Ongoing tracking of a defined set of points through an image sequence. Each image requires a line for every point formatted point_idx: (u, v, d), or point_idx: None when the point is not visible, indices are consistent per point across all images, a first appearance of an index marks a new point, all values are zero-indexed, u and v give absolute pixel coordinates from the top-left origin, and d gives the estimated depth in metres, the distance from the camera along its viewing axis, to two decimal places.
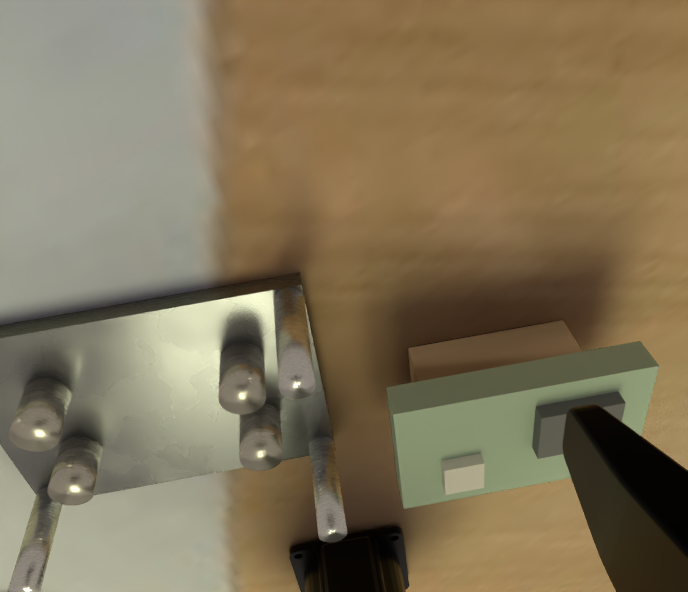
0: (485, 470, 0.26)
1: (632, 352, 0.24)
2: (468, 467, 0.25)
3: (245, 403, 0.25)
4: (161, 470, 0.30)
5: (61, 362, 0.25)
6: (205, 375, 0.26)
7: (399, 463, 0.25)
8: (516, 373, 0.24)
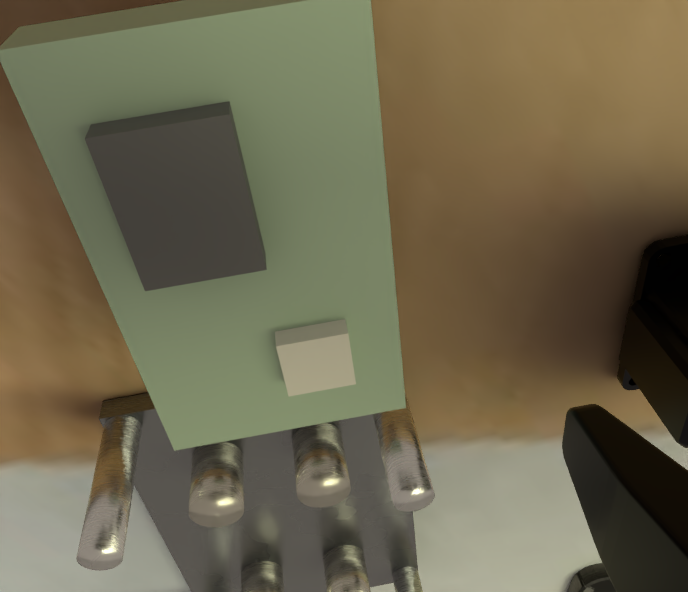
0: (325, 314, 0.14)
1: None
2: (282, 367, 0.14)
3: (225, 508, 0.21)
4: (390, 509, 0.26)
5: (220, 565, 0.27)
6: None
7: (287, 428, 0.16)
8: None
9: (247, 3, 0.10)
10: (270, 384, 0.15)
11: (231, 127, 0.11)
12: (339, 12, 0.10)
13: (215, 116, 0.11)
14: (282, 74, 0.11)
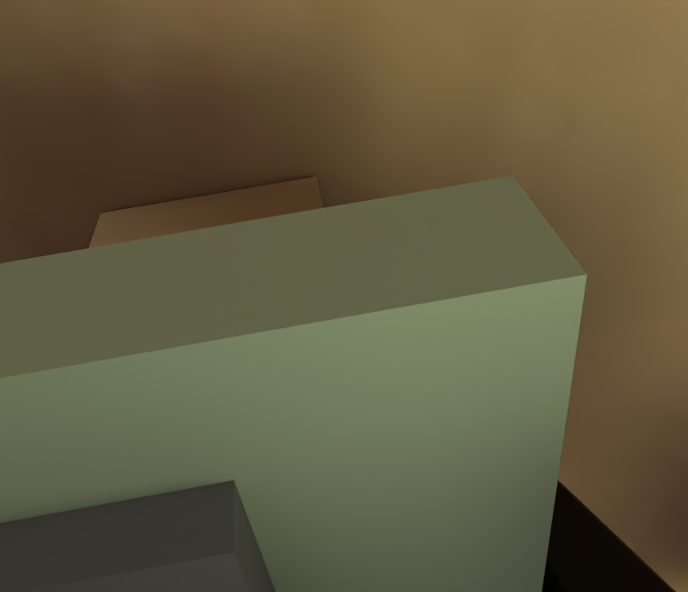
0: None
1: None
2: None
3: None
4: None
5: None
6: None
7: None
8: None
9: (278, 289, 0.04)
10: None
11: (238, 569, 0.05)
12: (503, 320, 0.04)
13: (200, 545, 0.05)
14: (356, 431, 0.05)
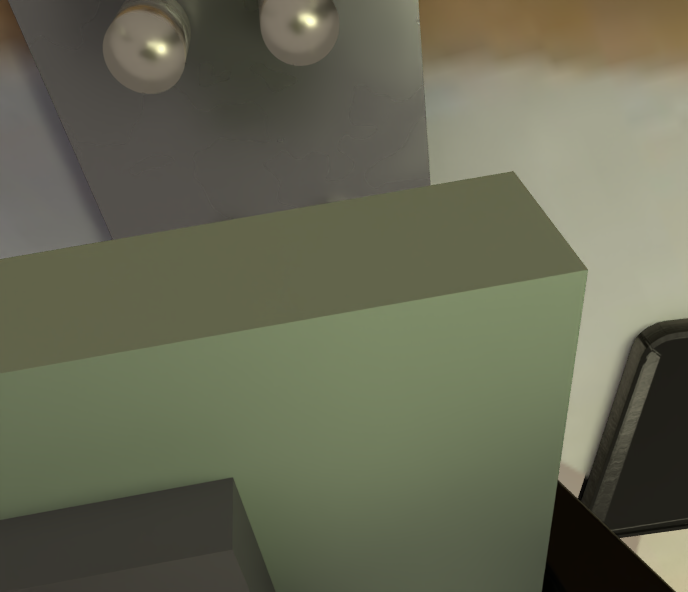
0: None
1: None
2: None
3: (157, 50, 0.14)
4: (399, 166, 0.19)
5: None
6: (193, 88, 0.17)
7: None
8: None
9: (277, 285, 0.04)
10: None
11: (237, 566, 0.05)
12: (505, 315, 0.04)
13: (199, 542, 0.04)
14: (355, 428, 0.05)
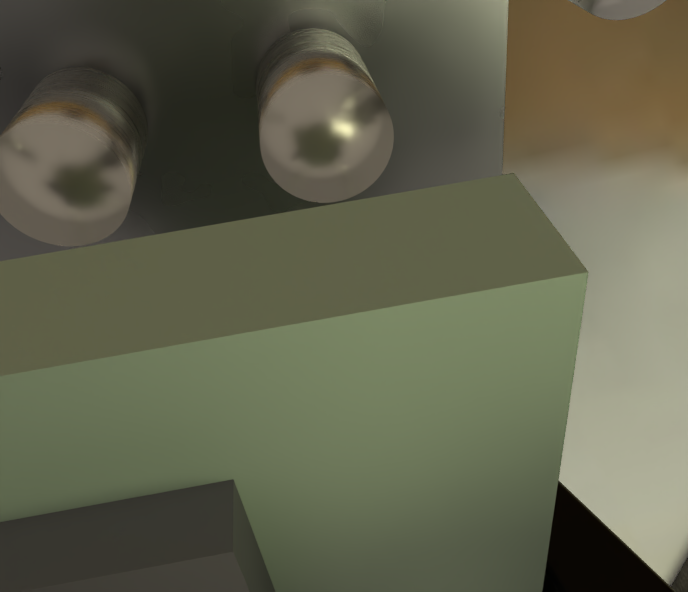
0: None
1: None
2: None
3: (80, 181, 0.08)
4: None
5: None
6: (153, 208, 0.11)
7: None
8: None
9: (277, 287, 0.04)
10: None
11: (237, 568, 0.05)
12: (504, 318, 0.04)
13: (200, 544, 0.04)
14: (356, 430, 0.05)
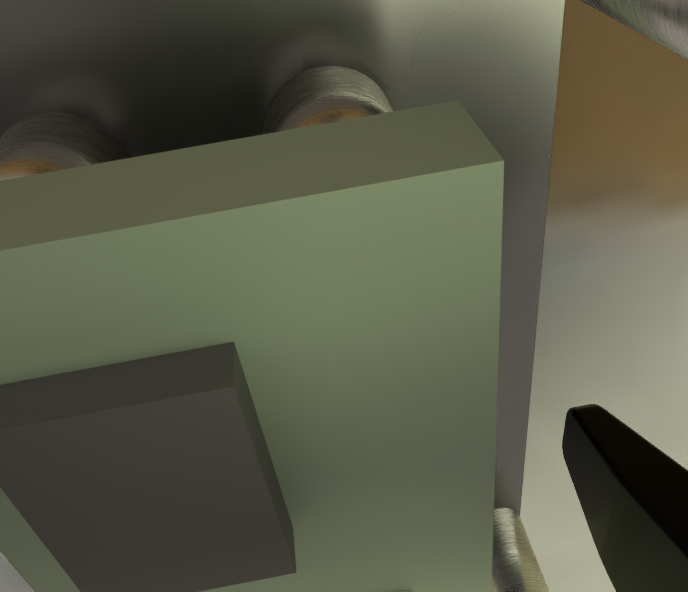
0: (383, 587, 0.09)
1: None
2: None
3: None
4: None
5: None
6: None
7: None
8: None
9: (266, 179, 0.06)
10: None
11: (237, 403, 0.06)
12: (442, 199, 0.05)
13: (207, 384, 0.06)
14: (330, 298, 0.06)
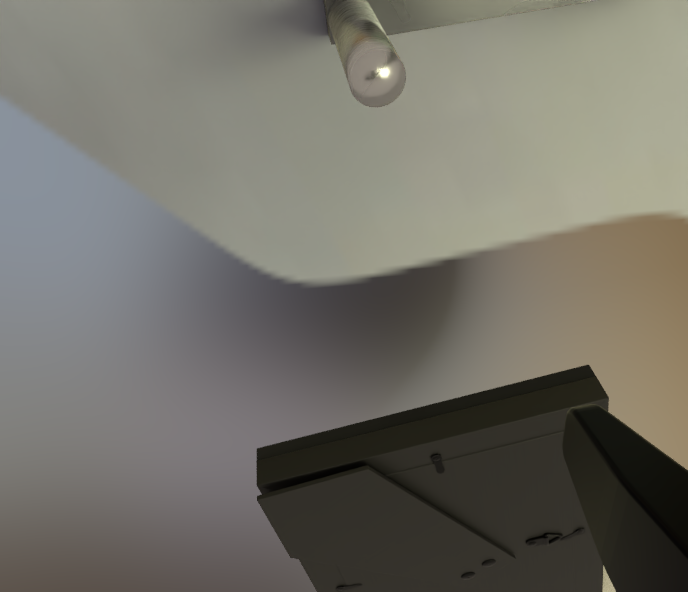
0: None
1: None
2: None
3: None
4: None
5: None
6: None
7: None
8: None
9: None
10: None
11: None
12: None
13: None
14: None
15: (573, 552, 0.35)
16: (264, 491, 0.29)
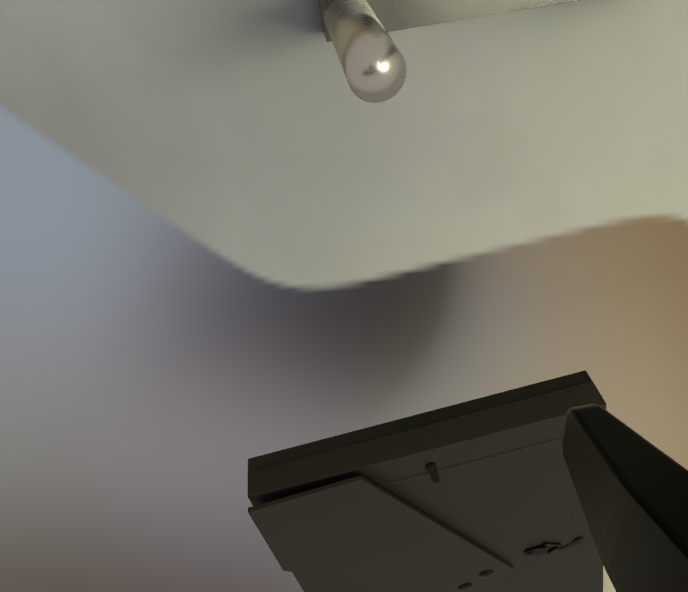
0: None
1: None
2: None
3: None
4: None
5: None
6: None
7: None
8: None
9: None
10: None
11: None
12: None
13: None
14: None
15: (572, 562, 0.34)
16: (255, 503, 0.28)
